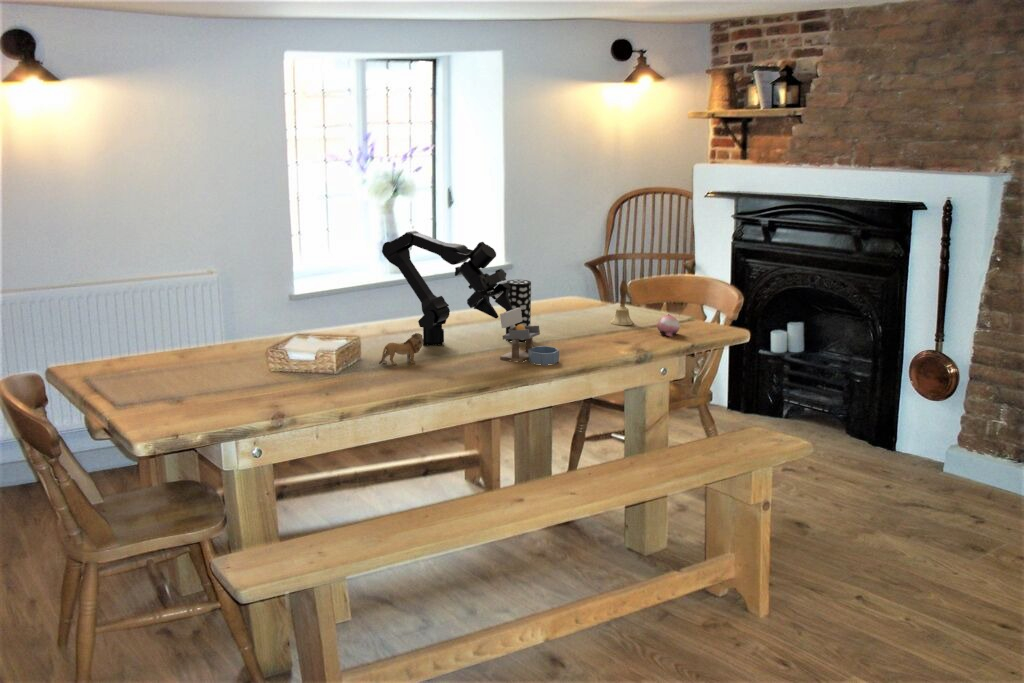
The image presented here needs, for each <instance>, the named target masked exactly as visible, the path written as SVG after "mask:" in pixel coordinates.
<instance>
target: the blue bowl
mask: <svg viewBox="0 0 1024 683" xmlns="http://www.w3.org/2000/svg"><path fill="white" fill-rule="evenodd" d="M528 360H529V361H530V362H531V363H535V364H541V365H543V366H549V365H548V364H554V365H556V364H558V363H559V362H560V350H559V348H557V347H555V346H548V345H541V346H540V345H539V346H532V348H530V349H528ZM528 360H527V361H528ZM529 361H528V362H529ZM530 362H529V363H530ZM557 362H558V363H557ZM531 363H530V364H531ZM555 363H556V364H555ZM535 364H534V365H535ZM541 365H540V366H541Z"/></svg>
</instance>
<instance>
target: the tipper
mask: <svg viewBox="0 0 1024 683" xmlns="http://www.w3.org/2000/svg"><path fill="white" fill-rule="evenodd" d="M499 317H500V318H499V319H500V324H501V329H506V328H507V327H509V326H510V329H509V333H508V334H506V333H505V334H503V335H502V340H506V339H530V338H532V337H533V338H534V337H537V336H539V335H540V334H541V331H540V325H530V326H525V330H515V328H516V327H515V324H517V323H519V322H522V314H521V308H515V309H513V310H510V311H507V312H506V311H505V312H502V313H500V314H499ZM533 338H532V339H533Z"/></svg>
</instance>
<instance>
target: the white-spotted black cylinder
mask: <svg viewBox="0 0 1024 683" xmlns="http://www.w3.org/2000/svg"><path fill="white" fill-rule="evenodd" d="M506 282H507V283H508V284H509V285H510V286H511V288H510V291H509V294H508V297H509V300H510V303H511V306H512V309H515V308H521V314H522V322H519V323H517V324H515V327H516V326H517V325H519V324H522V325H524V326H531V312H532V311H531V308H532V303H531V302H532V281H530V280H526V279H510V280H506ZM505 312H507V310H505ZM509 329H510V326H509V327H507V328H505V334H508V333H509ZM507 340H508V341H507ZM518 340H519V342H523V343H525V341H526V339H518ZM505 341H507V342H509V341H512V339H505Z"/></svg>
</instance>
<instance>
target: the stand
mask: <svg viewBox="0 0 1024 683" xmlns="http://www.w3.org/2000/svg"><path fill="white" fill-rule="evenodd" d="M533 338H534V337H532V338H530V339H526V342H524V343H525V346H524V347H525V348H524V350H523V349H520V343H519V340H518V339H512V342H511V351H510V352H507V353H504V354H502V355H500V356H499V359H500V360H502V361H508V360H511V361H510V362H514V361H518V362H517V363H520V362H523V361H525V360H527V361H528V349H530V348H532V347H533ZM525 362H526V361H525ZM523 363H524V362H523Z"/></svg>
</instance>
